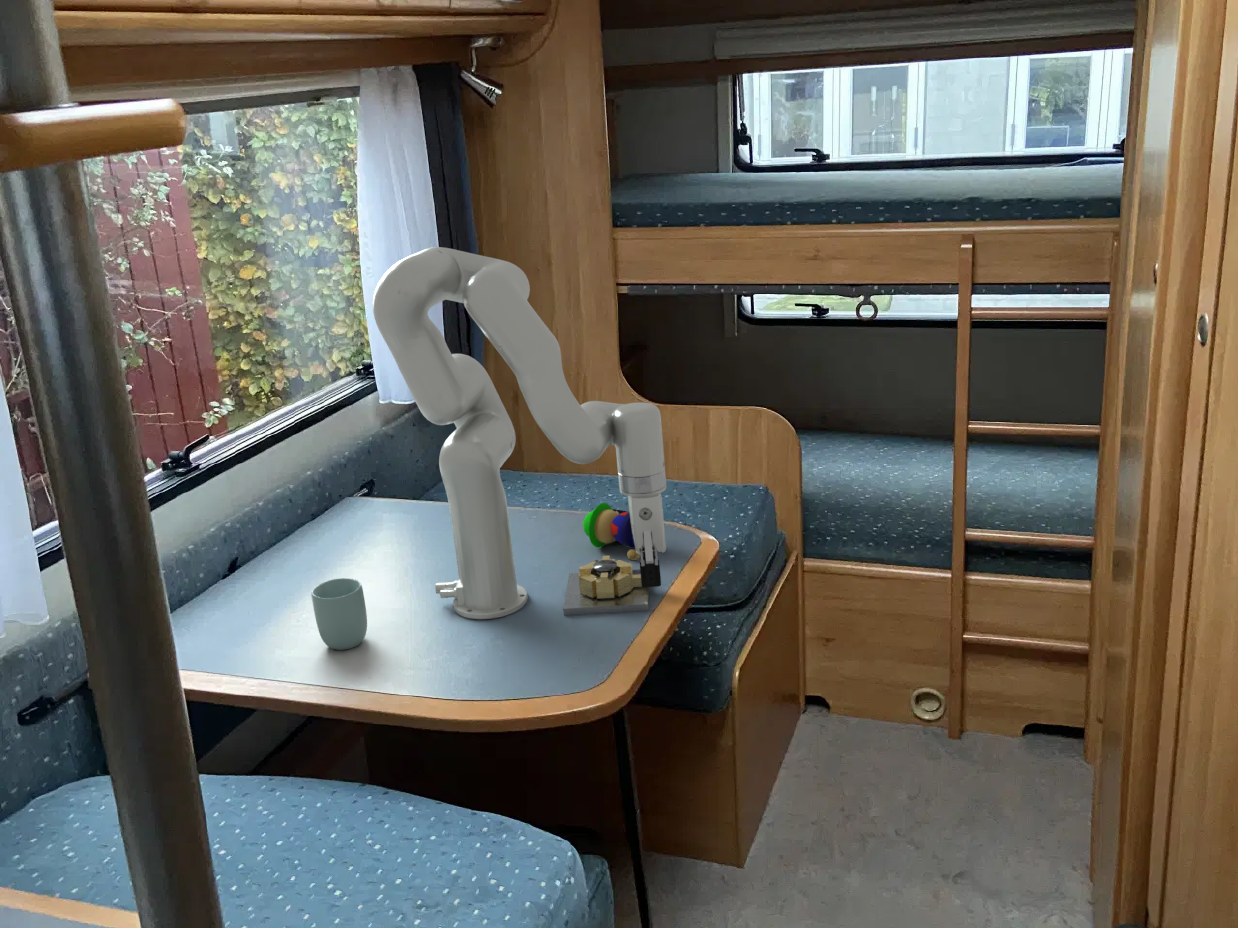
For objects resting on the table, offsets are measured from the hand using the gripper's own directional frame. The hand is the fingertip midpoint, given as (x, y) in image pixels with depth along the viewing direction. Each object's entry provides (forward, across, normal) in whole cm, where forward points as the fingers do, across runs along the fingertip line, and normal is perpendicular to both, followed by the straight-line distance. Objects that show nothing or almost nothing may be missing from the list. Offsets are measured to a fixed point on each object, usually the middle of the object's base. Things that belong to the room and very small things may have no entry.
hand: (651, 584), depth 185 cm
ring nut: (+2, +6, +5) cm, 8 cm away
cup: (+4, -5, +50) cm, 50 cm away
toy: (+4, +25, +5) cm, 26 cm away
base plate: (+4, +6, +8) cm, 10 cm away
